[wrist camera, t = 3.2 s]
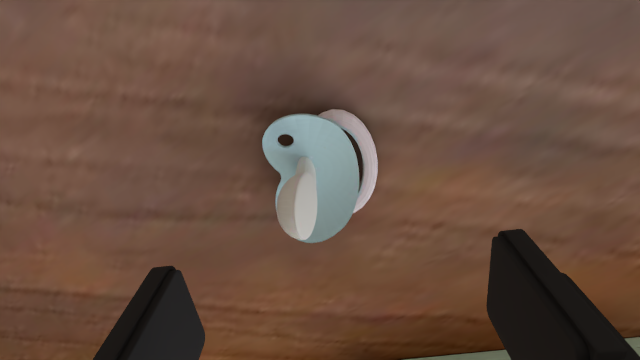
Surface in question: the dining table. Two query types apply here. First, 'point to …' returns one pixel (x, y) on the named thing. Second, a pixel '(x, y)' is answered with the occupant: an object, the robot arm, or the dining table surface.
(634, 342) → the tray
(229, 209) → the dining table surface
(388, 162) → the dining table surface
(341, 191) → the pacifier
